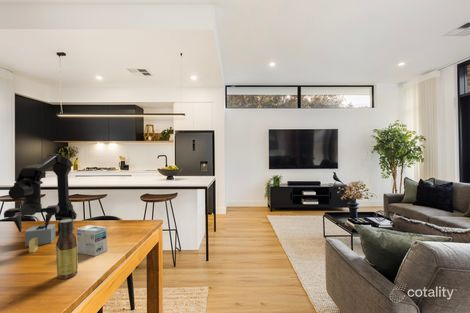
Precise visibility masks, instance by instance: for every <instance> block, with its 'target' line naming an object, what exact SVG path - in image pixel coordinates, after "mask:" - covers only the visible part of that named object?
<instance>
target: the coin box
mask: <svg viewBox="0 0 470 313" xmlns="http://www.w3.org/2000/svg"><path fill="white" fill-rule="evenodd" d="M56 236H57V235H56V223H51V224H50V223H49V224H48V227H47V229H45V224H40V225H31V226H30V227H29V228H27V229H26V230H25V231H24V245H25V247H29V241H30V240H31V239H32V238H37V237H38V246H39V245H40V246H41V245H49V244H52V243H53V241H54V240H55V239H56Z"/></svg>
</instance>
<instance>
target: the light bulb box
mask: <svg viewBox="0 0 470 313" xmlns="http://www.w3.org/2000/svg"><path fill="white" fill-rule="evenodd" d="M76 239H77V254H80V255H81V254H83V255H87V256H93V257H94V256H95V257H96V256H99V255H101V254H104V253H106V252H107V251H108V227H107V226H101V225H91V224H87V225H85V226H82V227H78V228H76Z"/></svg>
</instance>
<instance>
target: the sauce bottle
mask: <svg viewBox="0 0 470 313" xmlns="http://www.w3.org/2000/svg"><path fill="white" fill-rule="evenodd" d="M58 223H59V226H60V233H59V235H58V238H57V241H56V243H55V251H56V253H55V254H56V260H55V261H56V274H57V278H58V279H62V280H63V279H64V280H65V279H70V278H72V277H75V276H76V275H77V274H78V268H79V266H78V265H79V263H78V260H79V259H78V253H77V235H75V233H74V232H73V231H74V229H73V230H72V224H73V225H74V220H72V219H65V220H61V221H58Z"/></svg>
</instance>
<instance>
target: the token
mask: <svg viewBox="0 0 470 313" xmlns="http://www.w3.org/2000/svg"><path fill="white" fill-rule="evenodd" d="M38 249H39V245H38V237H37V238H32V239H31V240H30V241H29V246H28V253H29V254H32V253H35V252H37V250H38Z"/></svg>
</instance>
